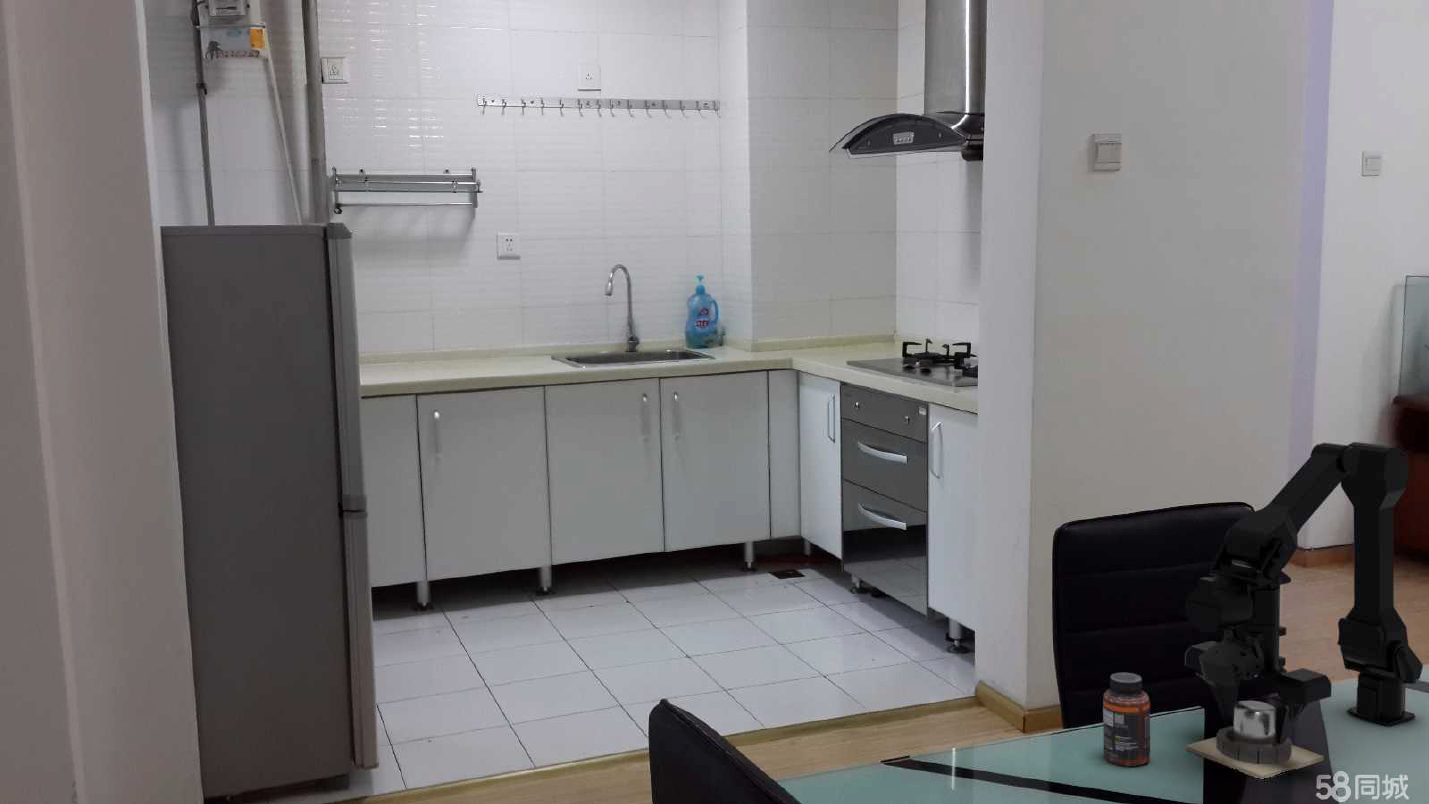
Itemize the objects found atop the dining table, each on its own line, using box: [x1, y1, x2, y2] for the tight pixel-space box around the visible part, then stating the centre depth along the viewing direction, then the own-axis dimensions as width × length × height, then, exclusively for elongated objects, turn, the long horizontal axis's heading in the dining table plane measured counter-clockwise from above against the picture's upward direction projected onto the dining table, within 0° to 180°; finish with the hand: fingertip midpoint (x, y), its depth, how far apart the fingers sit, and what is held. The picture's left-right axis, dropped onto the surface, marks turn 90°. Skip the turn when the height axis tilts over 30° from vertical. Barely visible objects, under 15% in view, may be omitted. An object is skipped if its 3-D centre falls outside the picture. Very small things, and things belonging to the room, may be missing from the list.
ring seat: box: [1185, 725, 1324, 780], centre depth 166 cm, size 12×12×2 cm
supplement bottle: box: [1102, 672, 1151, 767], centre depth 166 cm, size 6×6×11 cm
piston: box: [1233, 700, 1276, 748], centre depth 166 cm, size 5×5×6 cm
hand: (1254, 733), depth 166 cm, fingers open, 8 cm apart
